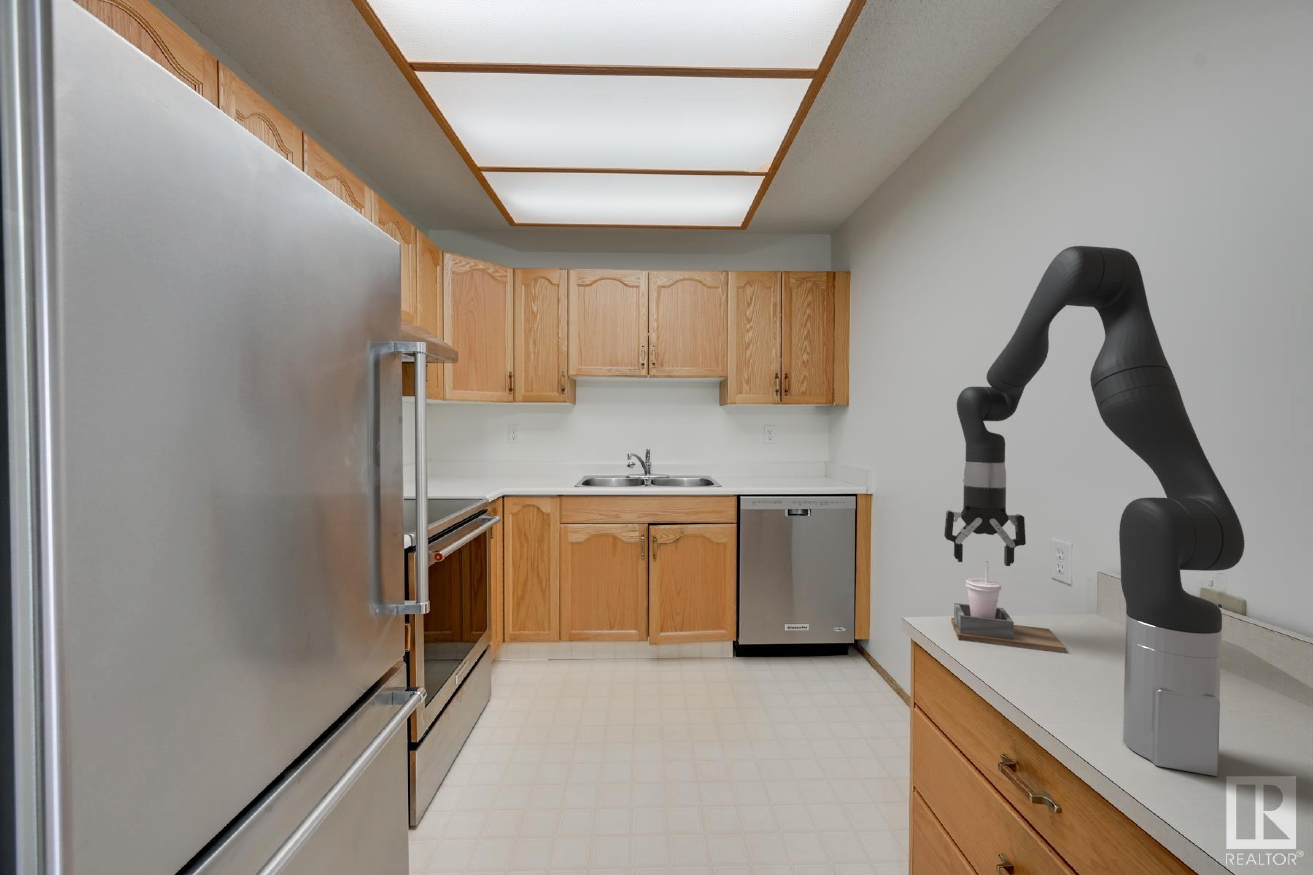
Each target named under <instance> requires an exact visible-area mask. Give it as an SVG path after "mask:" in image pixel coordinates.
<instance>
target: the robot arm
mask: <svg viewBox="0 0 1313 875" xmlns="http://www.w3.org/2000/svg"><path fill="white" fill-rule="evenodd" d="M1143 279H1144V278H1143V275H1142V271H1141V269H1140V265H1139V263H1138V261H1137V259H1136V258H1135V256H1134V255H1133V254H1132V253H1130V251H1128V250H1125V249H1121V248H1117V247H1107V246H1106V247H1103V246H1091V245H1074V246H1069V247H1066V248H1063V249H1062V250H1061V251H1060V252H1058V254H1056V256H1055V257H1054V258H1053V259H1052V261H1051V262H1050V263H1049V265H1048V267H1047V269H1046V270H1045V271H1044V273H1043V276H1041V279H1040V281H1039V283H1038V285H1037V287H1036V288H1035V290H1034V292H1033V295H1032V297H1031V299H1030V300H1029V302H1028V304H1027V306H1026V308H1025V310H1024V313H1023V315H1022V317H1021V319H1020V322H1019V323H1018V325H1017V327H1016V330H1015V331H1014V333H1013V335H1012V336H1011V338H1010V340H1009V341H1008V343H1007V344H1006V346H1005V347H1004V348H1003V349H1002V351H1001V352H1000V353H999V355H998V356H997V357H996V359H995V360H994V361H993V363H992V364H991V366H990V367H989V369H988V370H987V372H986V382H987V383H988V385H989V386H968V387H966V388H964V389H962V391H961V392H960V393H959V395H958V397H957V400H956V411H957V415H958V418H959V422H960V426H961V429H962V432H963V433H962V434H963V438H964V442H965V462H964V463H965V464H964V471H963V479H962V481H963V506H962V510H961V512H960V511H952V510H950V509H948V510H946V511H945V523H944V533H943V534H944V538H945V539H946V540H947V541H950V542H951V543H953V556H954V559H956V560H957V562H958V563H963V555H964V554H963V552H964V550H963V549H964V544H962V543H963V542H964V541H965V540H966V539H967V538H968V537H969V536H970V535H971V534H972V533H973V534H976V535H983V534H985V535H990V536H994V535H996V534H997V535H998V536H999V537H1000V538H1001V540H1002V541H1003V542H1004V543H1005V546H1004V550H1003V552H1004V553H1003V554H1004V555H1003V563H1004V566H1006V567H1011V564H1012V565H1013V564H1014V563H1015V548H1016V547H1021V546H1025V545H1026V542H1027V541H1026V524H1025V523H1026V522H1025V516H1023V515H1022V514H1020V513H1016V514H1007V509H1006V508H1007V507H1006V506H1007V470H1006V439H1005V437H1004V436H1003V435H1002V434H1000V433H996V432H992V431H989V430H988V428H987V427H986V425H985V422H1002V421H1005V420H1007V419H1008V418H1010V417H1012V416H1013V415H1014V414H1015V412H1016V411H1017V408H1018V406H1019V403H1020V400H1021V398H1022V395H1023V393H1024V389H1026V386H1027V385H1028V384H1029V382H1030V381H1031V380H1032V379H1033V378H1034V377H1035V375H1036V374H1038V372H1039V371H1040V369H1041V368H1042V366H1043V365H1044V364H1045V362H1046V361H1047V359H1048V354H1049V348H1050V347H1049V346H1050V344H1049V332H1050V330H1049V329H1050V325H1051V323H1052V321H1053V320H1054V319H1055V317H1057V315H1058V314H1059V313H1060V312H1061V311H1062V309H1064V308H1065V307H1066V306H1069V307H1070V306H1071V307H1072V306H1073V307H1083V308H1084V307H1087V308H1094V309H1095V310H1096V311H1097V313H1098V315H1099V317H1100V319H1101V322H1102V325H1103V330H1104V334H1105V335H1104V342H1103V343H1102V346H1101V349H1100V350H1099V353H1098V355H1097V357H1096V359H1095V361H1094V363H1093V365H1092V369H1091V372H1090V377H1089V378H1090V387H1091V391H1092V394H1093V396H1094V400H1095V404H1096V406H1097V411H1098V413H1099V416H1100V418H1101V419H1102V421H1103V424H1105V427H1107V428H1108V429H1109V431H1111V433H1113V434H1114V436H1115V437H1116V438H1118V439H1119V440H1120V441H1121V442H1122V443H1123V444H1125V446H1127V448H1129V449H1130V450H1131V451H1132V452H1133V453H1135V454H1136V456H1138V457H1139V458H1140V459H1141V460H1142V461H1143V462H1144V463H1146V464H1147V466H1148V467H1149V468H1150V469H1151V470H1152V471H1153V474H1155V476H1156V478H1157V479H1158V481H1159V483H1160V484H1161V486H1162V489H1163V491H1164V494H1165V497H1140V498H1136V499H1133V500H1132V501H1130V503H1128V504H1127V505H1126V507H1125V508H1124V510H1123V511H1122V515H1121V518H1120V521H1119V532H1118V536H1119V538H1118V540H1119V541H1118V542H1119V557H1120V558H1119V560H1120V585H1121V589H1122V594H1123V597H1124V600H1125V606H1126V607H1125V615H1126V616H1125V637H1124V638H1125V639H1124V640H1125V643H1124V646H1125V647H1124V678H1123V679H1124V682H1123V683H1124V686H1123V718H1122V720H1123V727H1122V740H1123V742H1124V744H1125V745H1126V746H1127V747H1128V748H1129V749H1130V750H1131V751H1132V752H1135V753H1137V755H1139V756H1142V757H1143V758H1146V759H1148V760H1149V761H1151V762H1152V763H1153V765H1155V766H1158V767H1162V768H1168V769H1173V770H1174V769H1175V770H1179V771H1185V772H1192V773H1196V774H1203V775H1209V776H1213V777H1218V776H1219V756H1220V755H1219V754H1220V752H1219V751H1220V750H1219V749H1220V748H1219V746H1220V724H1221V723H1220V722H1221V720H1220V714H1221V713H1220V712H1221V665H1222V662H1221V661H1222V638H1223V637H1222V636H1223V631H1222V630H1223V614H1222V613H1223V612H1222V611H1221V608H1220V607H1219V606H1218V605H1217V604H1215V603H1213V602H1212V601H1209V600H1207V599H1205V598H1202V597H1198V596H1196V595H1193V594H1190V593H1188V592H1187V591H1185V589H1184V587H1183V583H1182V576H1181V571H1206V572H1208V571H1211V572H1212V571H1213V572H1215V571H1225V570H1229V569H1232V568H1234V567H1235V566H1236V565H1237V564H1239V562H1240V561H1241V559H1242V558H1243V555H1244V551H1245V535H1244V532H1243V531H1244V530H1243V526H1242V524H1241V521H1240V519H1239V517H1238V514H1237V512H1236V510H1235V507H1234V506H1233V504H1232V502H1231V501H1230V499H1229V496H1228V494H1227V492H1226V491H1225V489H1224V487H1223V486H1222V484H1221V482H1220V480H1219V478H1218V477H1217V475H1216V473H1215V471H1214V469H1213V467H1212V466H1211V463H1210V461H1209V459H1208V458H1207V456H1206V454H1205V452H1204V449H1203V447H1202V446H1201V443H1200V441H1199V439H1198V436H1197V433H1196V431H1195V429H1194V427H1193V424H1192V422H1191V419H1190V416H1189V414H1188V413H1187V409H1186V407H1185V404H1184V401H1183V398H1182V394H1181V391H1180V389H1179V386H1178V383H1177V382H1176V378H1175V376H1174V373H1173V370H1172V369H1171V366H1170V364H1169V362H1168V360H1167V358H1166V355H1165V352H1164V350H1163V347H1162V345H1161V341H1160V338H1159V335H1158V333H1157V330H1156V327H1155V323H1154V321H1153V318H1152V315H1151V310H1150V306H1149V302H1148V298H1147V292H1146V289H1145V284H1144V280H1143ZM959 519H961V520H962V521H963V523H964V525H963V527H962V528H961V529H960V530H959V532H958V533H957V534H956V535H954V534H953V533H954V532H953V531H954V523H957V522H958V520H959ZM1009 521H1010V523H1011V524H1012V526H1014V528H1015V530H1014V531H1015V532H1014V533H1015V538H1013V539H1012V538H1011V537H1010V535H1008V533H1007V532H1006V531H1005V529H1004V526H1005V525H1006V524H1007V523H1008V522H1009Z"/></svg>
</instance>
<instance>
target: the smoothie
mask: <svg viewBox="0 0 1313 875" xmlns="http://www.w3.org/2000/svg"><path fill="white" fill-rule="evenodd" d="M984 562H985V563H984V578H975V577H974V578H972V577H971V578H967V579H966V580H965V586H966V587H967V595H968V602H969V604H968V605H970V614H971V616H974V617H983V618H992V619H995V615H996V609H997V608H998V602H999V596H1000V591H1002V584H1001V583H1000V582H998V581H995V580H991V579H989V561H984Z"/></svg>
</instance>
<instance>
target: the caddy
mask: <svg viewBox="0 0 1313 875" xmlns="http://www.w3.org/2000/svg"><path fill="white" fill-rule="evenodd" d="M953 609H954V610H953V617H951V619H950V620H951V624H952V627H953V630H954V631H955V634H956V638H957V639H958V641H966V642H974V643H983V644H988V645H989V644H991V645H998V646H1005V645H1006V646H1007V647H1015V648H1022V649H1029V650H1037V651H1038V650H1039V651H1045V652H1054V653H1062V654H1067V647H1066V646H1065V645H1064V643H1063V642H1061V641H1060V639H1059V638H1058V637H1057V636H1056V635H1055V634H1054V633H1053V631H1051V629H1050V628H1046V627H1035V626H1029V625H1027V626H1026V625H1021V624H1020V625H1019V624H1014V623H1015V621H1014V620H1013V619H1012V618H1011V616H1010V615H1009V613H1008V612H1007V611H1006V610H1005V608H1003V607H997V609H996V615H995V619H992V618H983V617H974V616H971V614H970V605H969V604H966V603H956V602H954V607H953Z"/></svg>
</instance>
